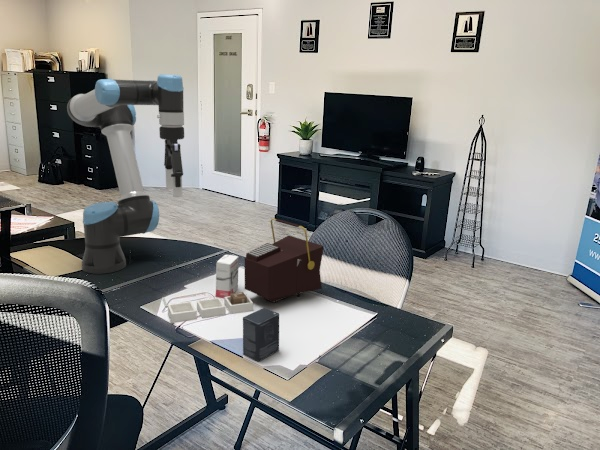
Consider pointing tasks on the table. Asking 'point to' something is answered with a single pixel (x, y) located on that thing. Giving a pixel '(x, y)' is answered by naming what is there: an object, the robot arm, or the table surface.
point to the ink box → (227, 275)
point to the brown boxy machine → (283, 267)
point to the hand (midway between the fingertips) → (174, 192)
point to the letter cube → (238, 298)
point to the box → (260, 334)
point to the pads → (164, 302)
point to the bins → (206, 309)
